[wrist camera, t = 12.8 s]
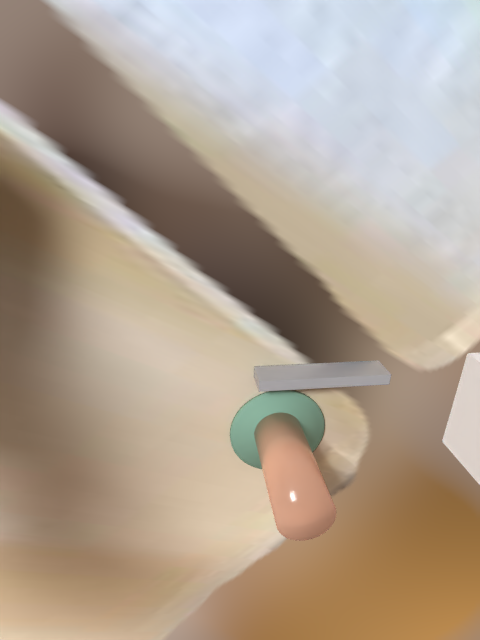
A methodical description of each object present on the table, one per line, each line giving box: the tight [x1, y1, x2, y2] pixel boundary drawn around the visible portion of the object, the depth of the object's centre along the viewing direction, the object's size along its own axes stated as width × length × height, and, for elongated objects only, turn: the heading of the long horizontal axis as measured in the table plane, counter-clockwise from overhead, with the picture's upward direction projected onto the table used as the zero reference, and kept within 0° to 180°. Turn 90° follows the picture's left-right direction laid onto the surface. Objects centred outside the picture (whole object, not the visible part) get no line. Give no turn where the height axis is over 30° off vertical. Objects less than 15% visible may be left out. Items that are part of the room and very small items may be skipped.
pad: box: [230, 390, 325, 469], centre depth 49 cm, size 11×11×1 cm
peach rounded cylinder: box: [254, 413, 336, 541], centre depth 43 cm, size 6×6×12 cm
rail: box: [254, 361, 391, 392], centre depth 45 cm, size 14×1×3 cm, turn 89°
